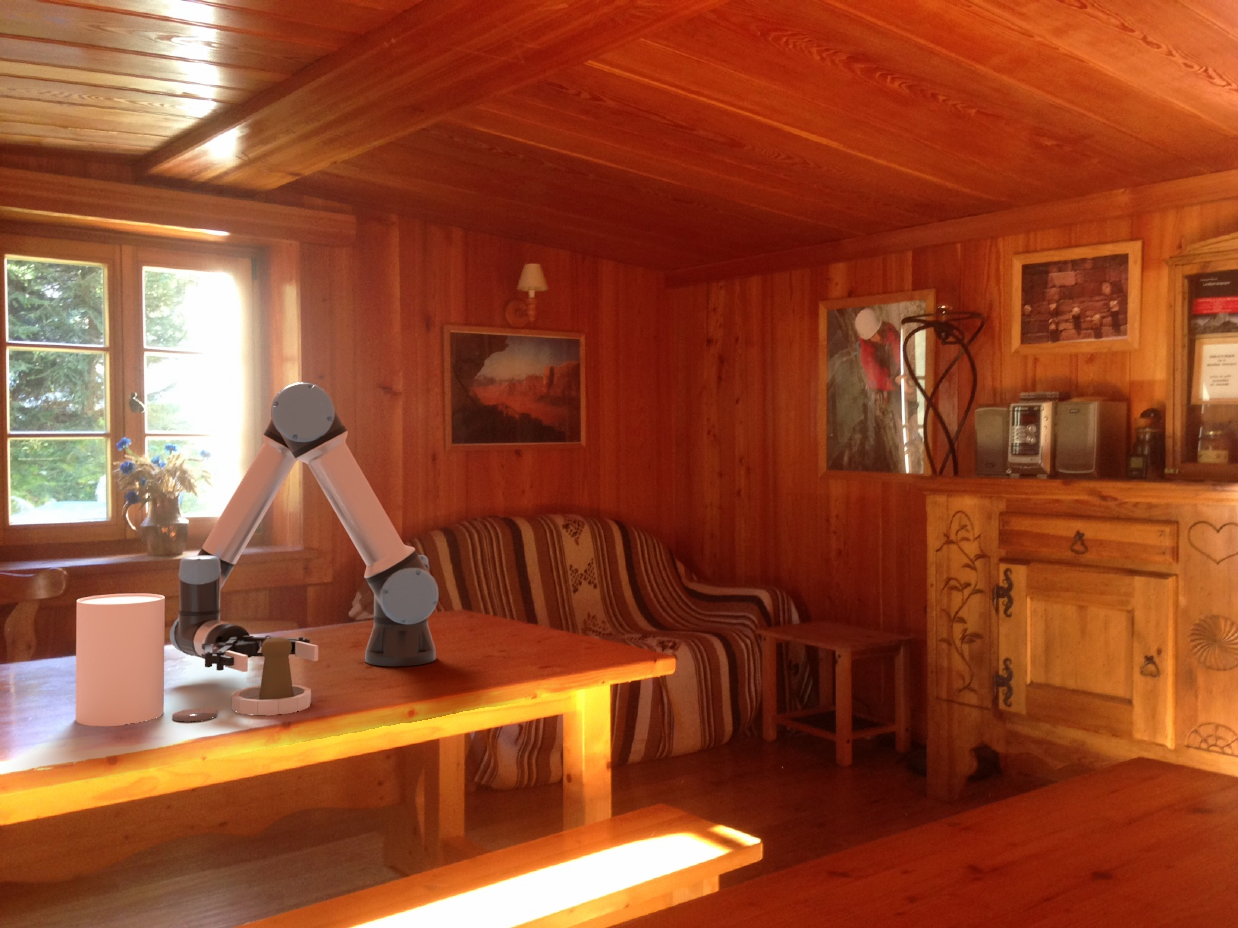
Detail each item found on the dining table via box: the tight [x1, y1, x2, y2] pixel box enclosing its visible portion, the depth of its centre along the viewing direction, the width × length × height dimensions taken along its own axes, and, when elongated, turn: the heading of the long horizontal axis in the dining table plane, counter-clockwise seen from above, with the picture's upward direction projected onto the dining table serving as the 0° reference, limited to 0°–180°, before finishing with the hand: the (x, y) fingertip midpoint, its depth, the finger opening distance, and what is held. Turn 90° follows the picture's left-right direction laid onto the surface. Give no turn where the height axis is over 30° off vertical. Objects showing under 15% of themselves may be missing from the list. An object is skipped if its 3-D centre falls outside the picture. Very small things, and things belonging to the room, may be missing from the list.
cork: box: [259, 636, 294, 700], centre depth 186 cm, size 6×6×11 cm
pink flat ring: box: [231, 684, 312, 716], centre depth 185 cm, size 13×13×2 cm
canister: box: [75, 593, 166, 727], centre depth 177 cm, size 14×14×20 cm
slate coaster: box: [171, 708, 218, 723], centre depth 177 cm, size 7×7×1 cm
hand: (282, 658), depth 183 cm, fingers open, 13 cm apart
